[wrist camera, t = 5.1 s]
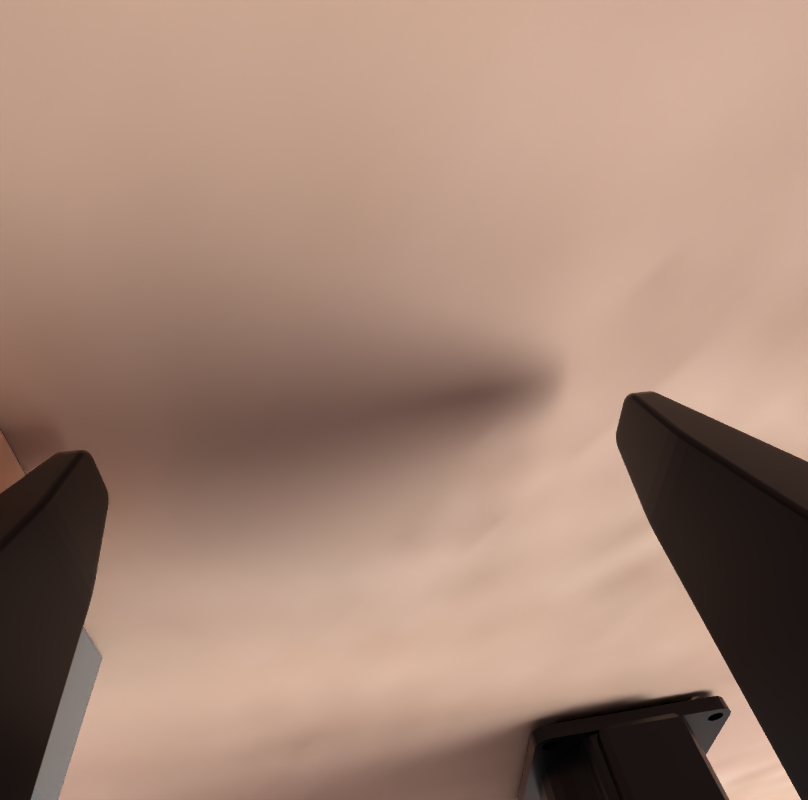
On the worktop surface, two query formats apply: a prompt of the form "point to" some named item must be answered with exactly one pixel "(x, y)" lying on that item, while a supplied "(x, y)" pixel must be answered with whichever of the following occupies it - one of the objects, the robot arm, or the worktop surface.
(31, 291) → the worktop surface
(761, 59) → the worktop surface
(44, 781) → the tray
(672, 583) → the worktop surface
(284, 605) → the worktop surface
